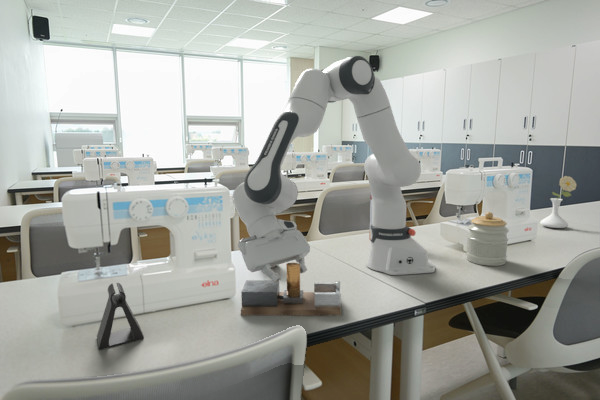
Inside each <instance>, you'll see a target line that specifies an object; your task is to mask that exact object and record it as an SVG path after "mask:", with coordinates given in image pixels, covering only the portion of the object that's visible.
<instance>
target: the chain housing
mask: <svg viewBox="0 0 600 400" xmlns="http://www.w3.org/2000/svg"><path fill="white" fill-rule="evenodd" d="M280 292H281V291H280V280H279V281H277V282H273V281H272V279H271V280H265V279H263V280H262V279H261V280H260V279H259V280H258V279H257V280H256V279H255V280H254V279H253V280H251V279H249V280H245V283H244V285H243V288H242V289H241V292H240V293H241V295H240V296H241V308H242V307H277V306H278V297H279V295H280Z"/></svg>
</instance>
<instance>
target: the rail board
mask: <svg viewBox="0 0 600 400" xmlns="http://www.w3.org/2000/svg"><path fill="white" fill-rule="evenodd" d="M280 295H284V292H283V291H280ZM280 295H279V296H280ZM323 315H341V316H342V309H341V307H315V296H314V291H312V292H311V291H310V292H309V291H303V304H298V303H283V299H279V298H278V306H277V307H242V306H241V309H240V316H323Z"/></svg>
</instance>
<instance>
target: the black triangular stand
mask: <svg viewBox="0 0 600 400" xmlns="http://www.w3.org/2000/svg"><path fill="white" fill-rule="evenodd" d="M116 287H117V290H118V293H117V294H116V290H115V286H114V283H111V284H109V286H108V287H107V293H108V298H107V302H106V306H105V309H104V312H103V315H102V318H101V320H100V325H99V329H98V331H97V334H96V340H97V346H98V350H99V351H102V350H106V349H108V348H113V347H118V346H121V345H124V344H129V343H132V342H137V341H141V340H143V339H144V338H145V337H144V334H143V331H142V329H141V326H140V324H139V322H138V321H137V318H136V317H135V315H134V313H133V311H132V310H131V308H130V306H129V304H128V302H127V300H126V297H127V296H126V293H125V291H124V288H123V285H122V284H121V283H119V282H116ZM118 308H121V309H122V310H123V313H124V315H125V318H126V319H127V322H128V325H129V327H130V328H126V329H122V330H118V331H113V332H112V330H113V329H112V328H113V324H114V317H115V313H116V310H117V309H118Z"/></svg>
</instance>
